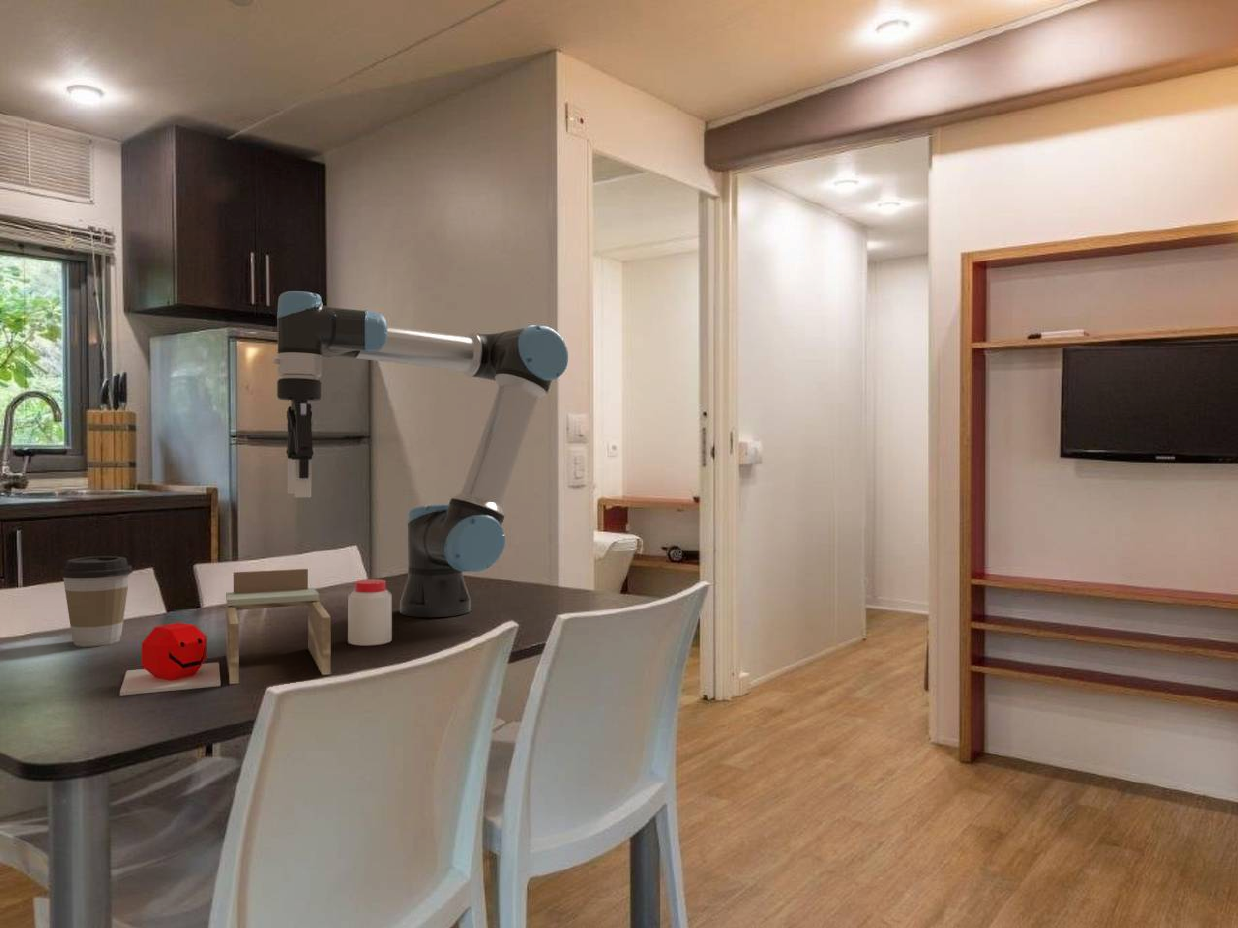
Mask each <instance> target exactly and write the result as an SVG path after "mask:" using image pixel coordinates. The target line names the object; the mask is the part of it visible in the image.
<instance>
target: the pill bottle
mask: <svg viewBox="0 0 1238 928" xmlns="http://www.w3.org/2000/svg"><path fill="white" fill-rule="evenodd" d="M386 582H387V581H386V580H385V579H381V578H380V579H378V578H376V579H375V578H374V579H373V578H372V579H370V578H369V579H368V578H367V579H360V580H358V579H357V580H355V581H354V590H353V591H352V592H351V593H350V594H349V595H348V596H347V598H348V599H347V600H348V601H347V602H348V603H347V606H348V608H347V609H348V610H347V616H348V617H347V619H348V620H347V625H348V626H347V628H348V629H347V642H348V643H349V644H350V645H353V646H363V647H364V646H378V645H384V644H387V643H390V642H391V641H392V640H393V630H392V629H393V595H392V593H391V592H390V591H389V590H388V589H386V586H387V583H386Z"/></svg>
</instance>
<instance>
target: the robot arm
mask: <svg viewBox="0 0 1238 928" xmlns="http://www.w3.org/2000/svg"><path fill="white" fill-rule="evenodd" d="M322 301H323V300H322V296H321V295H320V294H318V293H315V292H310V291H301V290H300V291H299V290H290V291H285V292H282V293H281V294H280V295H279V296H278V301H277V314H276V319H277V320H276V323H277V325H276V326H277V358H274V359H273V364H275V365H278V366H277V376H279V377H281V378H278V380H277V382H276V386H277V388H276V396H277V398H278V400H280V401H281V400H282V401H291V405H289V406H288V408H287V411H286V420H287V447H286V448H287V449H286V454H287V495H288V494H289V495H290V494H291V495H294V498H298V499H300V498H312V479H313V478H312V477H313V476H312V474H313V473H312V471H313V470H312V468H313V466H312V464H313V463H312V462H313V461H312V459H313V456H314V450H313V449H314V448H313V431H312V427H313V424H312V418H313V411H312V410H311V409H312V404H311V403H309V402H317V401H320V400H322V381H321V380H320V379H319V378H321V377H322V376H323V374H322V373H323V371H322V370H323V365H322V363H323V361H322V360H323V359H322V358H323V357H325V358H331V357H340V358H349V359H350V358H351V359H352V358H353V359H361V360H367V361H368V360H371V361H375V362H377V361H379V362H386V363H394V364H402V365H411V366H419V367H425V368H436V369H444V370H452V371H458V372H459V371H461V372H462V373H463V374H464V375H465V376H466V377H471V378H473V377H474V378H480V379H484V380H485V379H486V380H490V381H493V382H494V381H496V384H497V385H498V388H497V391H496V394H495V396H494V397H495V398H494V399H493V404H492V405H491V409H490V411H489V414H488V416H487V419H486V423H485V425H484V428H483V430H482V433H481V437H480V438H479V442H478V445H477V448H476V450H475V453H474V456H473V459H472V462H471V464H470V467H469V470H468V472H467V476H466V478H465V481H464V484H463V486H462V489H461V491H460V492H459V493H457V494H456V495H454V496H453V495H452V497H451V498H450V501H449V503H448V504H447V503H446V504H432V505H421V506H415V507H413V508H411V509H410V511H409V513H408V522H407V530H408V531H407V532H408V533H407V535H408V536H407V539H408V541H407V542H408V543H407V545H408V549H407V551H408V553H407V554H408V556H407V557H408V559H407V561H408V571H407V572H408V573H407V574H408V576H407V580H406V582H405V586H404V590H403V592H402V594H401V599H400V601H399V613H400V614H401V615H404V616H409V617H413V618H414V617H417V618H445V617H455V616H460V615H465V614H467V613H470V612H471V610H472V609H471V608H472V604H471V603H472V601H471V597H470V594H469V590H468V587H467V584H466V582H465V579H464V573H477V572H482V571H485V570H487V569H489V568H490V567H492V566H494V565H495V563H497V562H498V560H499V559H500V558H501V556H502V554H503V552H504V549H505V546H506V535H505V533H504V528H503V527H502V525H503V523H504V519H505V517H506V516H505V515H506V514H505V513H504V510H503V509H502V502H503V500H504V497H505V493H506V491H507V488H508V486H509V482H510V480H511V478H512V477H511V476H512V474H513V472H514V468H515V467H516V463H517V459H518V457H519V454H520V451H521V448H522V446H523V445H522V444H523V443H524V440H525V437H526V433H527V431H528V428H529V425H530V423H531V419H532V417H533V414H534V411H535V407H536V405H537V402H538V401H540V400H542V399H544V398H546V397H547V396H548V393H549V389H550V387H551V384H552V381H554V380H556V379H558V378H559V377H560V376H562V375H563V373H564V372H565V371H566V370H567V367H568V362H569V351H568V348H567V346H566V344H565V340H564V339H563V336H562V335H561V334H560V333H559V332H558V331H556V330H555V329H553V328H552V327H549V326H547V325H534V324H533V325H528V326H526V327H523V328H518V329H513V330H506V331H501V332H497V333H484V334H483V333H475V332H470V333H469V334H467V336H463V335H457V334H450V333H449V334H448V333H442V332H435V331H429V330H420V329H415V328H414V329H413V328H407V327H400V326H394V325H388V324H387V321H386V318H385V316H384V315H383V314H381V313H380V312H375V311H369V310H366V309H365V310H361V309H359V310H358V309H350V308H349V309H348V308H339V307H338V308H337V307H331V306H326V305H323V304H324V303H323V302H322Z"/></svg>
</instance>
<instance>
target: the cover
mask: <svg viewBox="0 0 1238 928" xmlns="http://www.w3.org/2000/svg"><path fill="white" fill-rule="evenodd" d="M308 575H309V570H308V568H298V569H297V568H296V569H295V568H294V569H279V570H259V571H258V570H255V571H235V572H233V591H232V592H231V591H230V592H225V600H226V603H227V606H237V605H253V604H268V603H284V602H300V601H316V600H318V601H320V594H319V592H318V591H317V589H315V588H314V587H308V586H309V584H308V583H309V581H308V580H309V576H308Z"/></svg>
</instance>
